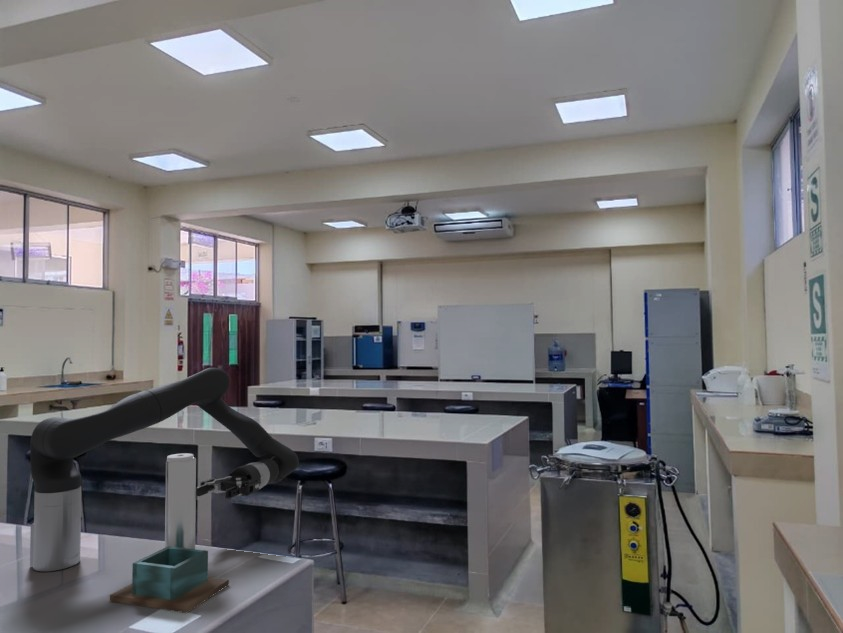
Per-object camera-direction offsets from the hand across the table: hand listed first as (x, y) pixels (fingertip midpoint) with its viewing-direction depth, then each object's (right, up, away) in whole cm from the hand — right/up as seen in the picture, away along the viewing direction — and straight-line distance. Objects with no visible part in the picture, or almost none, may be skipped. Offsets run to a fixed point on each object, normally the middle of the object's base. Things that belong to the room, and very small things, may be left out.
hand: (212, 493), depth 146 cm
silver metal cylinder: (-3, -13, -11) cm, 18 cm away
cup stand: (+1, -13, -26) cm, 29 cm away
